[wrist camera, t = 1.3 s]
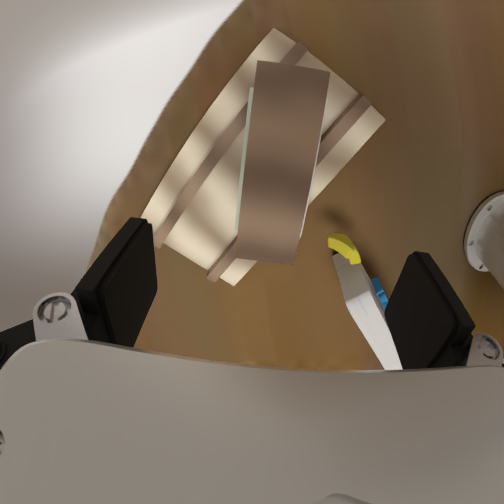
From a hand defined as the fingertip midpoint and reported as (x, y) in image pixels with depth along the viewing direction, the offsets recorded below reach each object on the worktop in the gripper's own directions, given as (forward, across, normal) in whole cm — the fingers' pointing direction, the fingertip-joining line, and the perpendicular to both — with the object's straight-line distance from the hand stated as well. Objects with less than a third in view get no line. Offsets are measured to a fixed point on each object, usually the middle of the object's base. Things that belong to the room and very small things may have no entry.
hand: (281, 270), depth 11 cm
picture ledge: (+22, +2, +3) cm, 23 cm away
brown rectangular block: (+19, 0, 0) cm, 19 cm away
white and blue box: (+23, -17, +19) cm, 34 cm away
